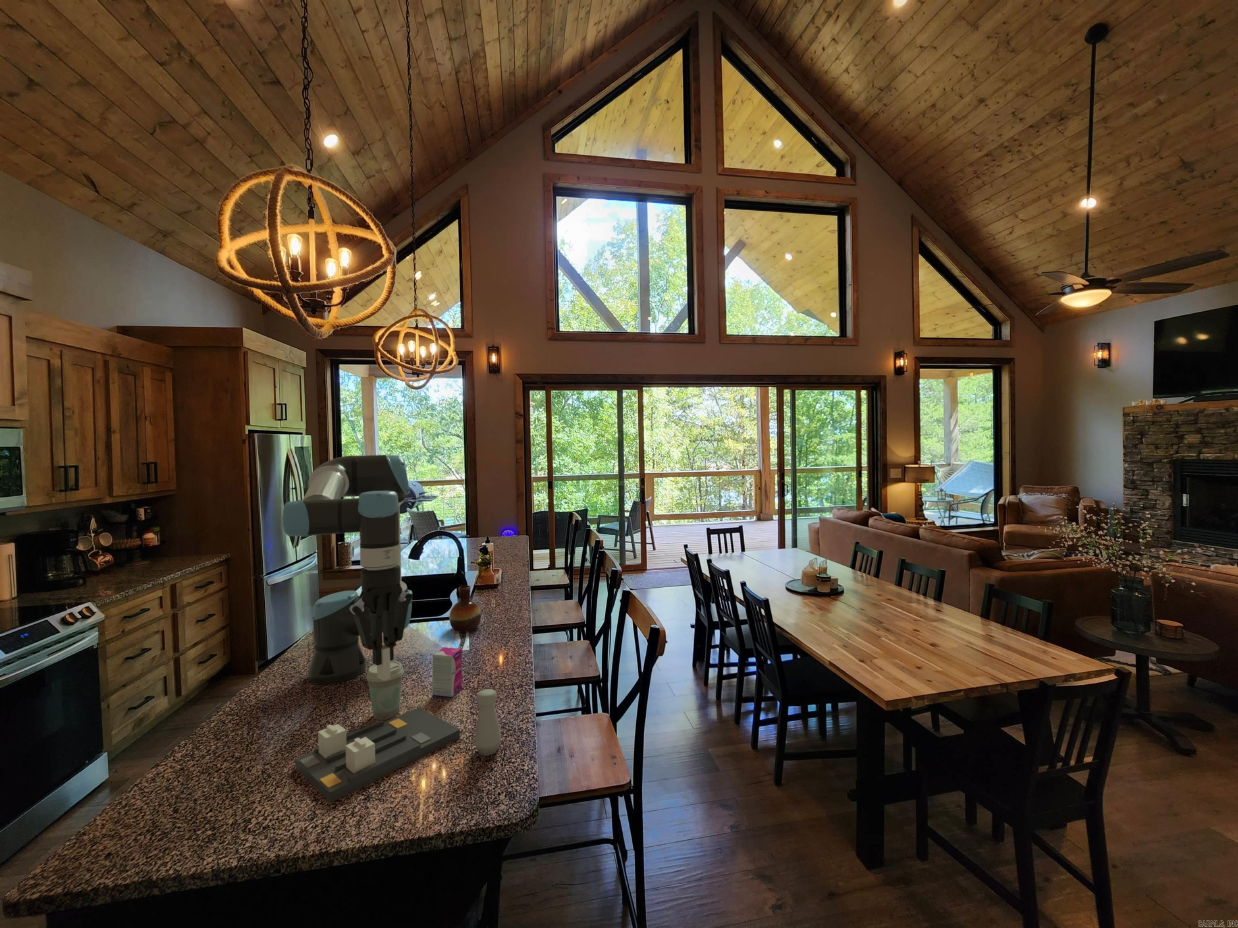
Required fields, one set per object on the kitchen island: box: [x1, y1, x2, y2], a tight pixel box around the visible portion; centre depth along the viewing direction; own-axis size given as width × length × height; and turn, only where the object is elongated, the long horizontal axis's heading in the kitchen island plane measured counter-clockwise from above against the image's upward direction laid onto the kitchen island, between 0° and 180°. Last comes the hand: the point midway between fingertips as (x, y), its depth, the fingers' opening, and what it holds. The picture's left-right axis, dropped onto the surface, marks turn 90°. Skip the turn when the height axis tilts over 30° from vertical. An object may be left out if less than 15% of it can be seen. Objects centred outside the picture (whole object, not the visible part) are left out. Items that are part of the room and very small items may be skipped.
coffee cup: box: [365, 660, 405, 721], centre depth 133 cm, size 8×8×12 cm
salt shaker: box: [473, 688, 502, 757], centre depth 116 cm, size 6×6×13 cm
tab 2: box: [346, 737, 375, 773], centre depth 108 cm, size 4×4×5 cm
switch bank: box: [294, 706, 461, 804], centre depth 116 cm, size 17×28×3 cm, turn 140°
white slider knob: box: [317, 723, 347, 758], centre depth 113 cm, size 4×4×5 cm
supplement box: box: [432, 646, 463, 699], centre depth 144 cm, size 6×6×12 cm
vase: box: [448, 584, 482, 633], centre depth 195 cm, size 11×11×15 cm
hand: (383, 677), depth 112 cm, fingers closed
